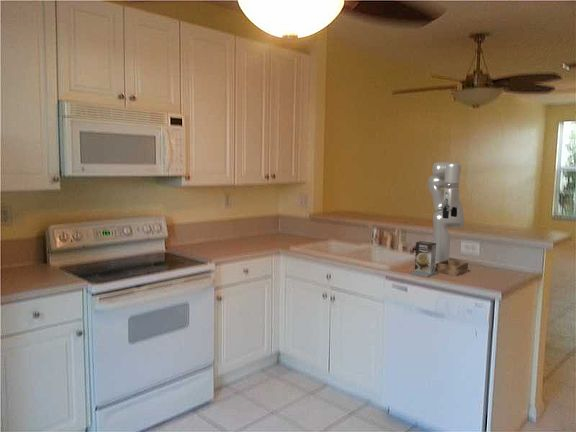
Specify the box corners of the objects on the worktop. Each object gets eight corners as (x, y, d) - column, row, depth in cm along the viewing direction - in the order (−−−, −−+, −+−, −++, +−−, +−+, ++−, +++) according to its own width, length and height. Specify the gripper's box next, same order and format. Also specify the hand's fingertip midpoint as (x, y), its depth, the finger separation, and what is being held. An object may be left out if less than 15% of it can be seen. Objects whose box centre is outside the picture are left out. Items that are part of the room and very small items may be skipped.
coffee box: (414, 271, 242) (415, 242, 240) (419, 269, 246) (420, 240, 245) (430, 274, 236) (431, 244, 234) (435, 272, 241) (436, 242, 239)
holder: (435, 272, 245) (436, 263, 244) (446, 268, 255) (446, 259, 255) (457, 276, 237) (458, 266, 236) (467, 271, 247) (468, 262, 246)
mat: (410, 273, 240) (410, 272, 240) (420, 270, 249) (420, 268, 249) (427, 277, 233) (428, 275, 233) (437, 273, 242) (437, 271, 242)
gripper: (450, 187, 232) (448, 219, 234) (465, 185, 244) (463, 216, 246) (437, 186, 237) (435, 218, 239) (452, 185, 249) (450, 215, 251)
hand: (449, 217), depth 243 cm, fingers open, 9 cm apart
